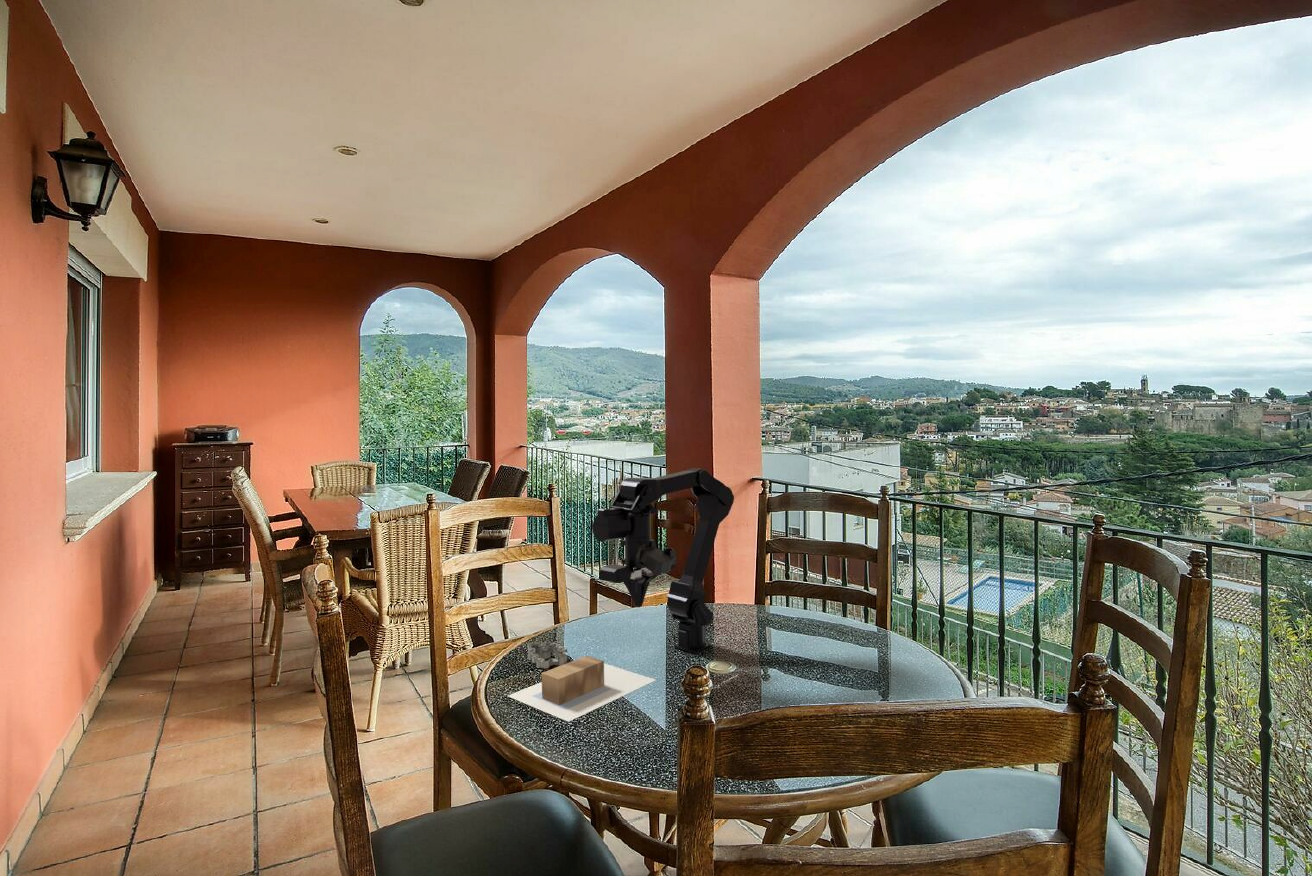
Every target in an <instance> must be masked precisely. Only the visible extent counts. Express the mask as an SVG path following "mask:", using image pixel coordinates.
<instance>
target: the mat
mask: <svg viewBox="0 0 1312 876" xmlns="http://www.w3.org/2000/svg"><path fill="white" fill-rule="evenodd" d="M656 681H657V679H654V678H651V677H648V676H645V675H642V674H640V673H637V672H636V673H635V672H633V671H629V670H626V669H623V668H621V667H618V666H615V665H612V664H607V663H605V662H604V686H602V687H599V688H597V689H595V690H593V691H590V692H588V693H586V694H584V695H581V696H579V697H577V698H575V699H572V700H570V701H568V702H566V703H563V704H561V705H557V704H555V703H552V702H550V701H547V700H545V699H542V681H540V682H538V683H536V684H533V685H531V686H529V687H526V688H523V689H521V690H518V691H516V692H513V693H510V694H507V697H508V698H511V699H513V700H516V701H518V702H520V703H523V704H525V705H527V706H530V707H532V708H534V709H537V710H540V711H541V712H544V713H546V714H549V715H552V716H553V717H556V718H559V719H561V720H563V721H566V722H568V723H569V722H571V721H573V720H575V719H578V718H579V717H581V716H584V715H586V714H589V713H590V712H592V711H595V710H596V709H599V708H600V707H603V706H605V705H607V704H609V703H611V702H614V701H616V700H617V699H619V698H622V697H625V696H627V695H628V694H630V693H632V692H634V691H637V690H639V689H641V688H643V687H646V686H647V685H649V684H651V683H654V682H656Z"/></svg>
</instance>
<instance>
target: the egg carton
mask: <svg viewBox="0 0 1312 876" xmlns="http://www.w3.org/2000/svg"><path fill="white" fill-rule="evenodd" d="M526 645H527V646H526V647H527V651H528V661H532V663H533V664H536V668H537V669H545V670H546V669H549V668H550V667H551V666H558V667H559V666H561V665H564V664H566V663H568V656H567V655H566V653H569V652H568V648H567V647H565V646H564V647H562V646H561V645H559V644H558V645H557V643H556V642H554V641H552V642H551V643H548V641H545V642H534V643H531V642H527V643H526ZM551 653H554V656H555V657H558V658H552V657H551V656H552V655H551ZM547 659H548V660H547Z"/></svg>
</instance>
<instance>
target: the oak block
mask: <svg viewBox="0 0 1312 876" xmlns="http://www.w3.org/2000/svg"><path fill="white" fill-rule="evenodd" d="M604 663H605V662H604V660H602V659H599V658H596V657H593V656H590V655H583V656H582V657H579V658H577V659H574V660H572V661H569V662H567V663H564V665H561V666H559V665H558V666H556V667H554V668H552V669H549V670H548V669H547V670H546V671H544V672H541V682H542V699H545V700H547V701H550V702H552V703H555V704H557V705H561V704H563V703H566V702H568V701H570V700H572V699H575V698H577V697H579V696H581V695H584V694H586V693H588V692H590V691H593V690H595V689H597V688H599V687H602V686H604Z"/></svg>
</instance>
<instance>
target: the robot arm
mask: <svg viewBox="0 0 1312 876" xmlns="http://www.w3.org/2000/svg"><path fill="white" fill-rule="evenodd" d="M621 482H622V483H621V484H620V486H619V489H618V491H617V492H616V494H615V497H613V500H612V502H611V504H610V505H609V508H598V510H597V515H595V517H594V519H593V521H592V524H591V528H592V533H593V537H594V538H595V539H596V541H598V542H600V543H602V542H609V541H614V540H620V545H621V546H624V558H621V559H620V564H617V563H616V564H614V563H611V564H608V565H603V566H601V567H600V569H599V570H598V571H599V572H598V573H599V575H598V576H599V577H598V578H599V579H598V581H599V580H600V581H604V582H609V583H613V584H624V586H625V587H626V589H627V591H628V594H629V595H630V597H631V599H632V601H633V604H634V606H635V607H637V608H641V607H642V606H643V604H644V601H645V598H646V594H647V591H648V588H649V585H650V583H651V582H652V581H653V580H654V579H655V578H656V577H658V576H662V574H666V573H667V574H668V573H670V572H671V570H673V569H675V568H676V564H677V551H676V548H673V547H667V548H665V549H659V548H657V544H656V543H657V542H656V540H655V539H652V537H651V536H652V535H651V534H652V533H651V532H652V531H651V526H652V525H651V523H652V522H651V520H652V519H651V515H655V514H658V513H659V510H658V509H657V508H656V507H654V505H653V504H654V503H655V502H657V501H659V500H660V498H661V497H663V496H665V495H669V494H672V493H676V492H680V491H684V490H689V489H690V490H691V493H692V495H693V496H695V498H696V499H697V502H696V510H697V514H698V522H697V525H696V529H695V533H694V536H693V539H692V543H691V546H690V549H689V553H688V557H687V560H686V564H685V567H684V570H683V574H682V575H681V577H680V578H679V579H678V580H677V581H675V580H672V581H671V582H670V586H669V590H668V593H667V595H666V598H667V602H666V606H667V608H668V611H669V612H670V615H671V618H672V619H673V620H676V621H679V622H678V630H677V640H678V641H677V643H675V644H674V645H673V648H674V649H679V650H683V651H686V652H690V653H694V654H696V653H698V652H701V651H702V650H705V649H707V648H710V647H711V646H712V643H710V642H707V640H706V639H707V638H706V637H707V635H706V633H707V632H706V626H708V625H709V624H711V623H712V622H713V618H714V613H713V612H712V610H710V609H709V608H708V606H706V604H705V603H706V594H707V593H706V589H705V586H704V580H705V576H706V573H707V569H708V565H709V561H710V558H711V554H712V552H713V547H714V544H715V540H716V537H717V533H718V530H719V526H720V524H721V523H722V522H723V521H724V519H725V518H727V517H728V515H729V514H730V512H731V509H732V507H733V504H734V501H735V495H734V493H733V491H732V489H731V488H730V487H729V486H726V484H724V483H723V481H720V480H719V479H717V478H715V477H714V476H712V475H711V474H710V473H709V472H708V471H707V470H706V469H704V468H693V467H692V468H687V469H686V470H682V471H678V472H674V473H669V474H666V475H661V476H658V477H657V476H656V477H626V478H624V479H623V480H622V481H621ZM621 539H622V540H621Z"/></svg>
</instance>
